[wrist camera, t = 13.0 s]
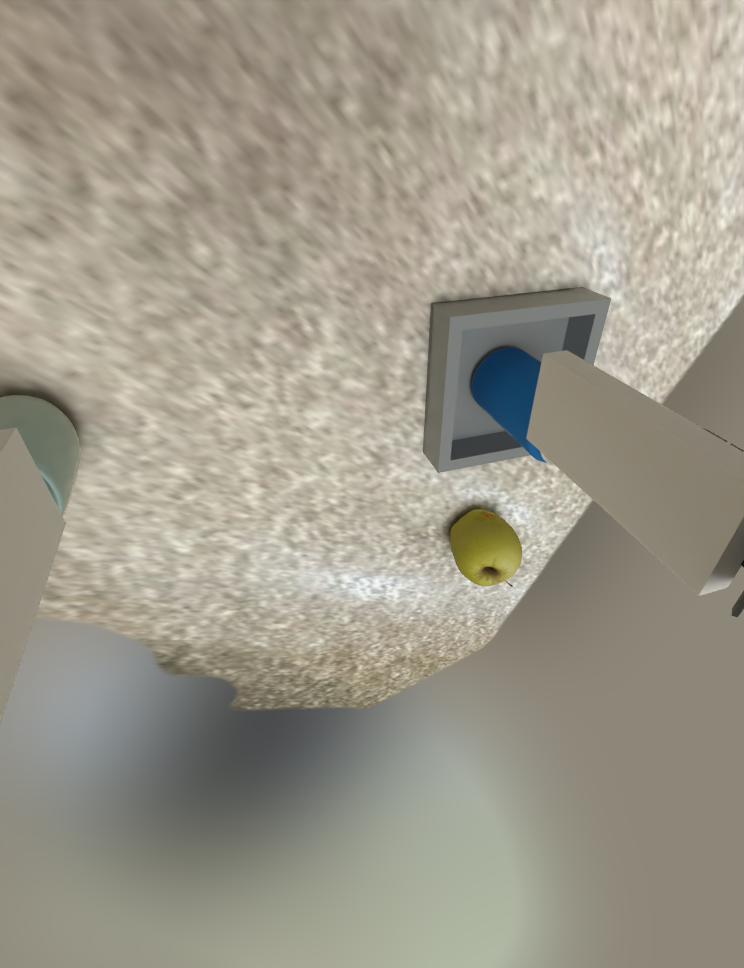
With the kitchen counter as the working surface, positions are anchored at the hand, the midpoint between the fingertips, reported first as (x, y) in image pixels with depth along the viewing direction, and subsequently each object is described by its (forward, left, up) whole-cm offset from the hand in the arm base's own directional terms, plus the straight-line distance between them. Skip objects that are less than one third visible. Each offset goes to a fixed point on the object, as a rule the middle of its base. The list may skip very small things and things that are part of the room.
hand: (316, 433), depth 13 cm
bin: (+13, +23, -29) cm, 39 cm away
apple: (+33, +22, -29) cm, 49 cm away
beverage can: (+13, +23, -28) cm, 39 cm away
